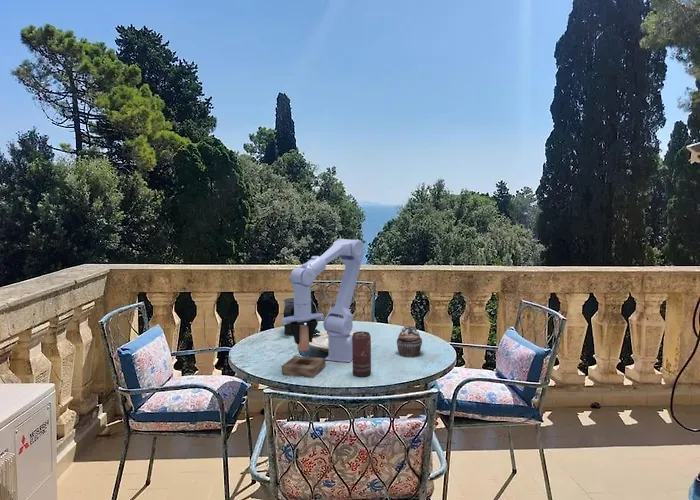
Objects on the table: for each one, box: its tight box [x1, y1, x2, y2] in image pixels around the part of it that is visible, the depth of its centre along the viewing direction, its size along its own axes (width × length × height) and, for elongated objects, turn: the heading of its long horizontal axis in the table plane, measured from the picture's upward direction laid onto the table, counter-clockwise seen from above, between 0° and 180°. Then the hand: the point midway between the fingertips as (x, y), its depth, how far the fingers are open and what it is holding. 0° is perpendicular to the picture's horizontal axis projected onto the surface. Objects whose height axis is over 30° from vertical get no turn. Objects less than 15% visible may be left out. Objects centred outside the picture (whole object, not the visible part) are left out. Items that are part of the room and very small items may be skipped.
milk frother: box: [283, 297, 321, 336], centre depth 224 cm, size 14×16×15 cm
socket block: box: [281, 355, 326, 379], centre depth 178 cm, size 11×11×3 cm
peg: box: [296, 324, 310, 352], centre depth 177 cm, size 4×4×8 cm
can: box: [352, 330, 372, 378], centre depth 174 cm, size 6×6×14 cm
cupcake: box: [396, 326, 423, 358], centre depth 195 cm, size 10×10×10 cm
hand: (303, 342), depth 177 cm, fingers closed on peg, 4 cm apart
